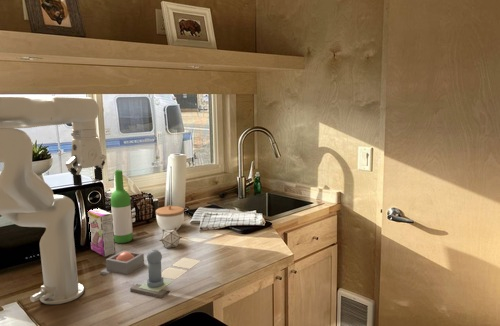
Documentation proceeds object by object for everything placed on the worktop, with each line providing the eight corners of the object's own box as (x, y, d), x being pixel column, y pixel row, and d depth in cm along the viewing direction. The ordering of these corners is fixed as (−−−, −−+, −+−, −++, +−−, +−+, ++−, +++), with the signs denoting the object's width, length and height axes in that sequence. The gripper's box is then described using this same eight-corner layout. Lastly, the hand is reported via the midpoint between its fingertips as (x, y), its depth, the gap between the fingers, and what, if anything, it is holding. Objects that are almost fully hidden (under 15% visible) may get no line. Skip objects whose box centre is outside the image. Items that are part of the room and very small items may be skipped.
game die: (174, 258, 164) (175, 244, 157) (155, 250, 165) (155, 236, 158) (184, 241, 171) (186, 227, 163) (165, 233, 172) (166, 219, 165)
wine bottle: (114, 245, 170) (109, 173, 165) (113, 239, 177) (107, 169, 172) (134, 242, 173) (129, 171, 168) (132, 236, 180) (127, 168, 175)
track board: (161, 298, 125) (161, 294, 125) (130, 291, 130) (130, 287, 130) (208, 263, 150) (208, 260, 150) (180, 258, 155) (180, 255, 155)
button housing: (128, 279, 138) (126, 265, 137) (100, 274, 143) (99, 260, 142) (150, 266, 149) (149, 252, 148) (124, 261, 153) (123, 248, 153)
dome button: (126, 272, 142) (125, 256, 141) (113, 269, 144) (111, 254, 143) (138, 265, 147) (137, 250, 146) (124, 262, 149) (123, 248, 148)
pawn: (156, 289, 129) (155, 254, 127) (144, 285, 131) (142, 251, 129) (166, 282, 133) (165, 249, 131) (154, 279, 135) (152, 246, 133)
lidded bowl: (190, 228, 189) (189, 204, 188) (168, 235, 180) (167, 211, 178) (172, 222, 197) (171, 200, 196) (151, 229, 188) (149, 206, 186)
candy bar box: (90, 250, 165) (86, 210, 162) (101, 246, 168) (98, 207, 166) (104, 257, 157) (100, 215, 154) (116, 253, 161) (112, 212, 158)
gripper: (72, 137, 134) (77, 189, 137) (110, 132, 150) (114, 178, 152) (56, 136, 137) (60, 187, 140) (95, 131, 153) (98, 177, 155)
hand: (88, 182), depth 146 cm, fingers open, 9 cm apart
